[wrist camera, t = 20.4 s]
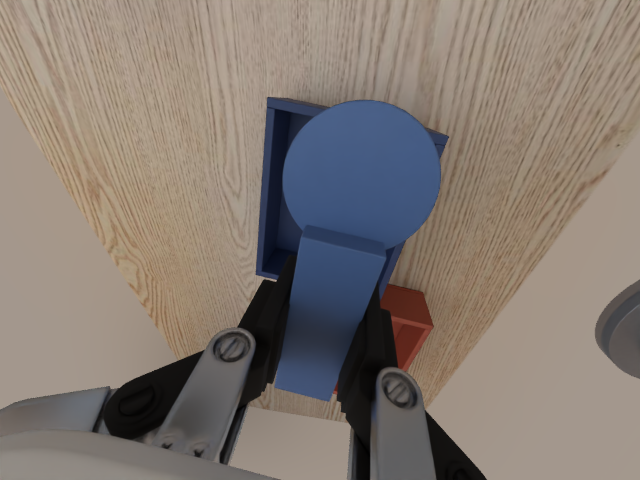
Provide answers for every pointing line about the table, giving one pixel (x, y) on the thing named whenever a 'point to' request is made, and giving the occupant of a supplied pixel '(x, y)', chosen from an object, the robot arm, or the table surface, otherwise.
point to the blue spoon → (348, 227)
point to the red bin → (406, 322)
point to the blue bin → (275, 218)
